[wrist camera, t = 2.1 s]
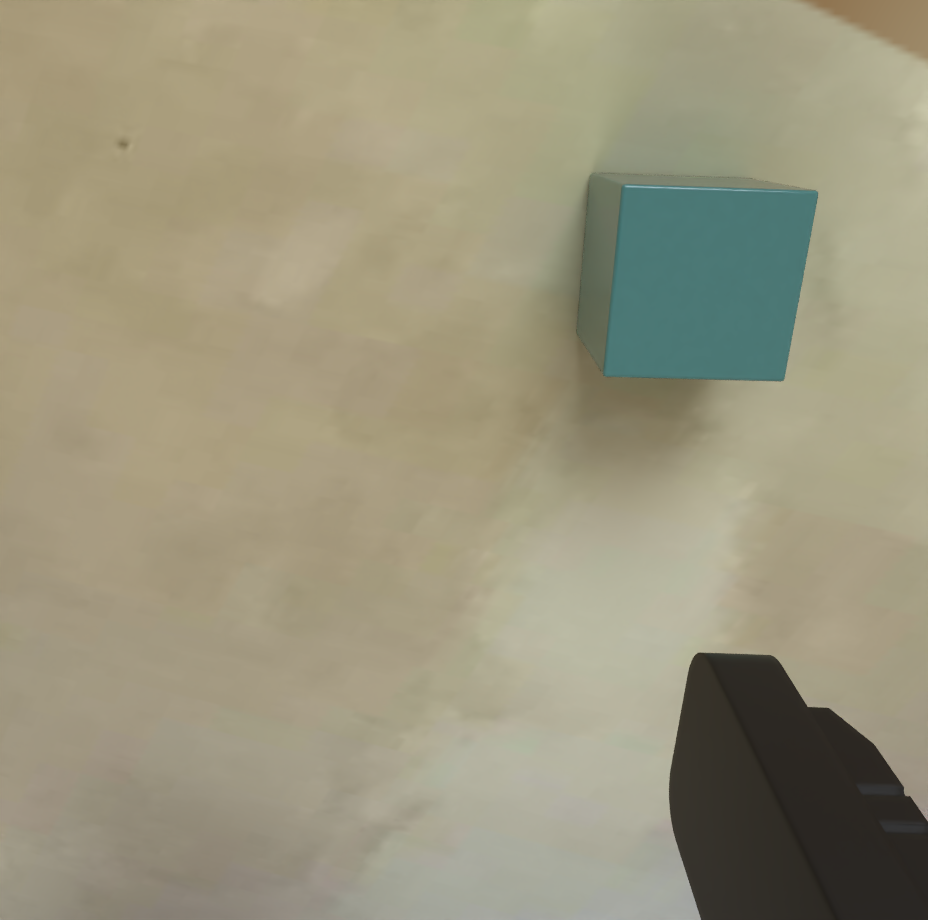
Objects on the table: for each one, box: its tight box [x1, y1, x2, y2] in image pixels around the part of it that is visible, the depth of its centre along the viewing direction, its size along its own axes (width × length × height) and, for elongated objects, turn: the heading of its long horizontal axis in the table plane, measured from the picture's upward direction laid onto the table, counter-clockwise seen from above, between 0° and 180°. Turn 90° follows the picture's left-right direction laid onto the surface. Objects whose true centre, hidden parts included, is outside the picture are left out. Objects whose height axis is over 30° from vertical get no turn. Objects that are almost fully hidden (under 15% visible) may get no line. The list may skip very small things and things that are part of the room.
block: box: [577, 173, 818, 381], centre depth 21 cm, size 4×4×4 cm
